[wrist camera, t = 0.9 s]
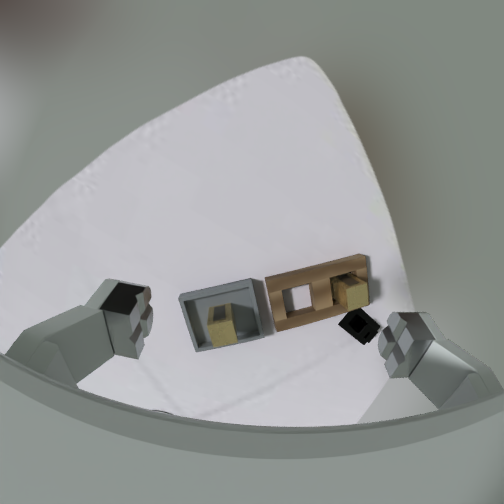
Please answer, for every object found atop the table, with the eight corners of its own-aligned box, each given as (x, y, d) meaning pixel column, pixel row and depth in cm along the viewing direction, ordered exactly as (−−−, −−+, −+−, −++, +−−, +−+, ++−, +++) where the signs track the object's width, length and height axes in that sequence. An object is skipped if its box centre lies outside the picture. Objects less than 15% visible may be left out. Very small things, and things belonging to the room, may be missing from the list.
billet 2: (349, 291, 52) (368, 304, 45) (331, 296, 52) (348, 311, 44) (347, 271, 52) (366, 282, 44) (328, 276, 51) (346, 288, 44)
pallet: (364, 300, 53) (369, 304, 51) (274, 326, 52) (277, 332, 50) (359, 253, 51) (365, 255, 49) (264, 277, 50) (266, 281, 48)
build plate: (329, 322, 54) (337, 331, 49) (353, 294, 53) (363, 302, 49) (364, 349, 56) (373, 359, 52) (385, 325, 56) (396, 333, 51)
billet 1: (235, 322, 51) (237, 342, 43) (214, 326, 50) (213, 347, 42) (230, 301, 50) (231, 319, 42) (208, 306, 50) (206, 325, 42)
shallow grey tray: (262, 331, 52) (264, 337, 50) (196, 345, 51) (195, 352, 49) (250, 278, 50) (251, 281, 47) (180, 293, 49) (178, 298, 47)
